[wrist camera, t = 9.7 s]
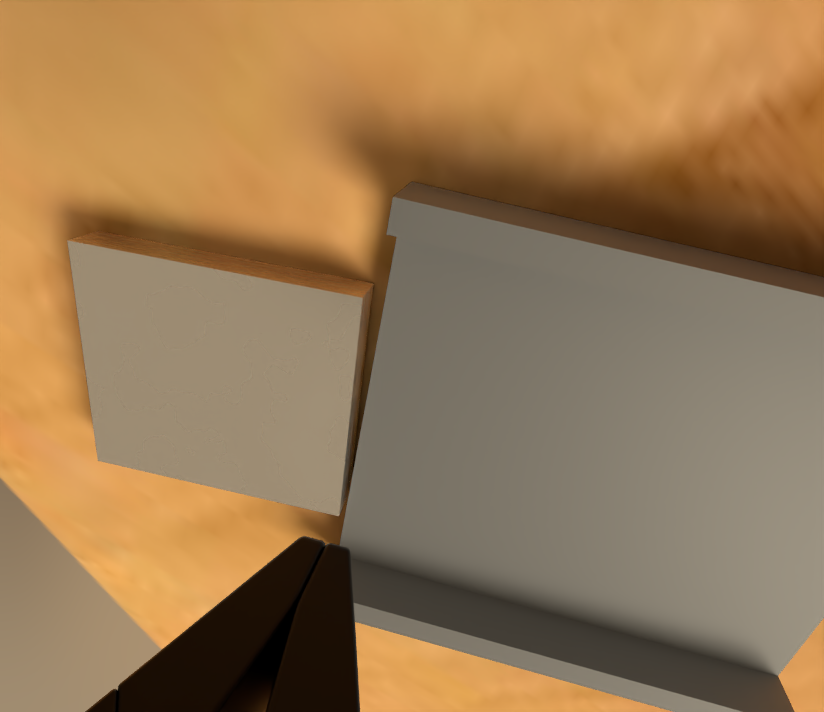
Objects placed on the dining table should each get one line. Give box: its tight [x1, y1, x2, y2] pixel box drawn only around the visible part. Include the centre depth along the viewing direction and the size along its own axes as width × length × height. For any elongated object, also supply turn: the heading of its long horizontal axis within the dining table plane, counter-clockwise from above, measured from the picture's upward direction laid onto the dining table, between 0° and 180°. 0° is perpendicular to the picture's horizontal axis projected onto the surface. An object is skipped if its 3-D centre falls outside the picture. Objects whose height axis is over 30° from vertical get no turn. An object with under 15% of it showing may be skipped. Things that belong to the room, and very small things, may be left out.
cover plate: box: [67, 231, 374, 516], centre depth 20 cm, size 10×9×2 cm
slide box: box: [339, 182, 824, 712], centre depth 18 cm, size 18×16×3 cm
